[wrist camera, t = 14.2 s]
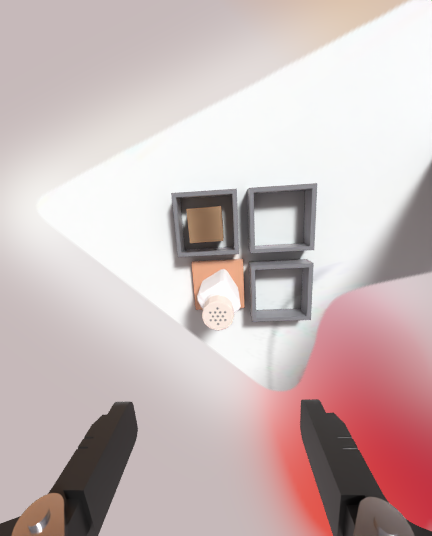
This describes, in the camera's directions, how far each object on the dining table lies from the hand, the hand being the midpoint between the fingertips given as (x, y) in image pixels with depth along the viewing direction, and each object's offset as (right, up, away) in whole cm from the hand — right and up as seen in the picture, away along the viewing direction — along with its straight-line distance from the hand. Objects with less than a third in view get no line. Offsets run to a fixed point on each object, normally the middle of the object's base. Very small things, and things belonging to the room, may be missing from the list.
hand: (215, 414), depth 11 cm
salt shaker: (+1, +5, +21) cm, 22 cm away
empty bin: (+8, +13, +19) cm, 25 cm away
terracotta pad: (0, +5, +22) cm, 22 cm away
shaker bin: (+9, +4, +21) cm, 24 cm away
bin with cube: (-1, +13, +20) cm, 23 cm away
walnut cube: (-1, +13, +20) cm, 24 cm away
